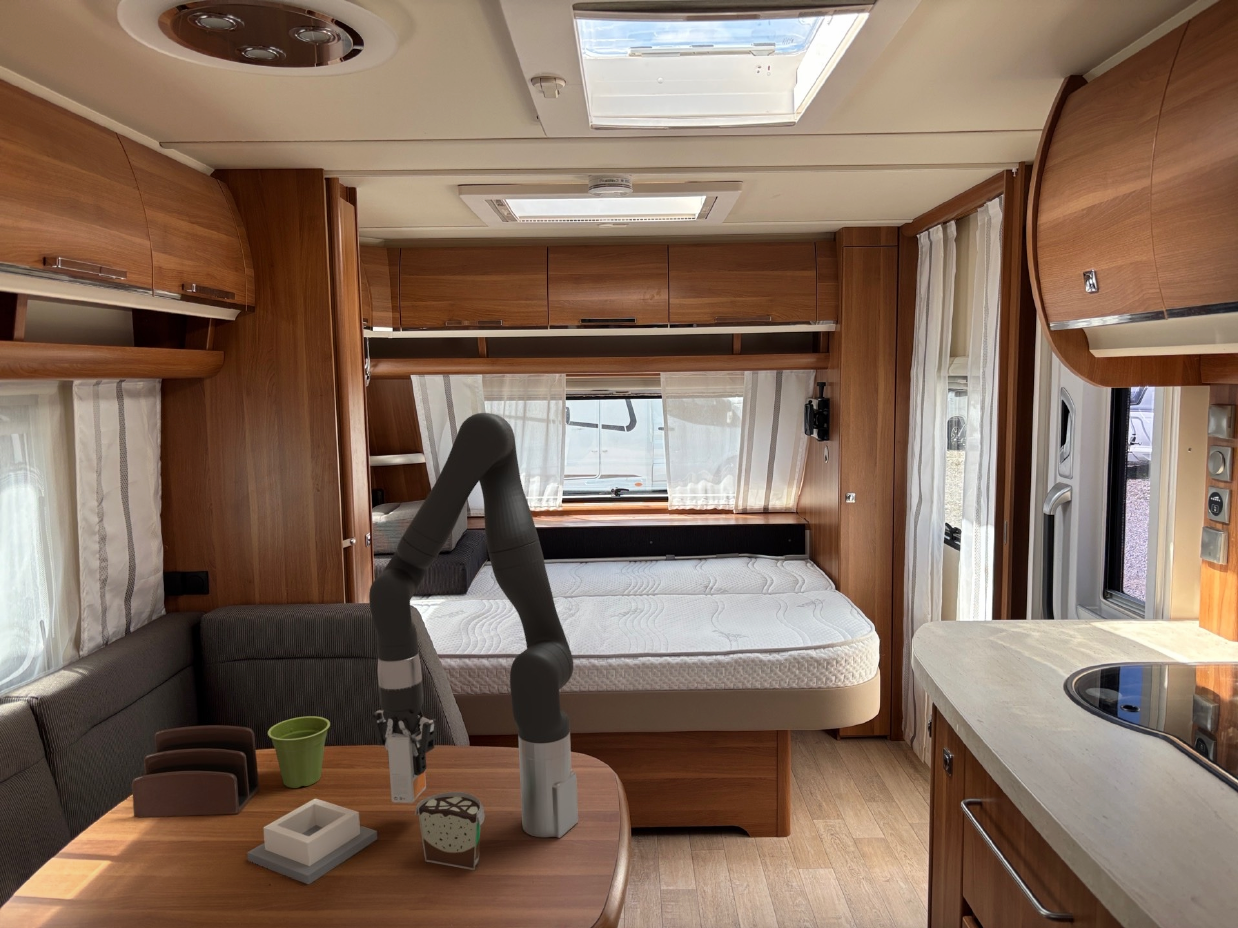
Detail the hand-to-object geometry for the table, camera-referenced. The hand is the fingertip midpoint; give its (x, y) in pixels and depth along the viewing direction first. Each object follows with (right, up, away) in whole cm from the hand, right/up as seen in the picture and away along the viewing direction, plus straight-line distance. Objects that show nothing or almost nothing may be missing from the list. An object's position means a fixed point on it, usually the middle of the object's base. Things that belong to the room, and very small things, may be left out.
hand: (407, 770), depth 152 cm
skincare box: (0, -5, 0) cm, 5 cm away
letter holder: (-44, -11, +12) cm, 46 cm away
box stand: (-15, -12, -6) cm, 20 cm away
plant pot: (-26, -9, +20) cm, 34 cm away
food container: (+11, -11, -9) cm, 18 cm away
